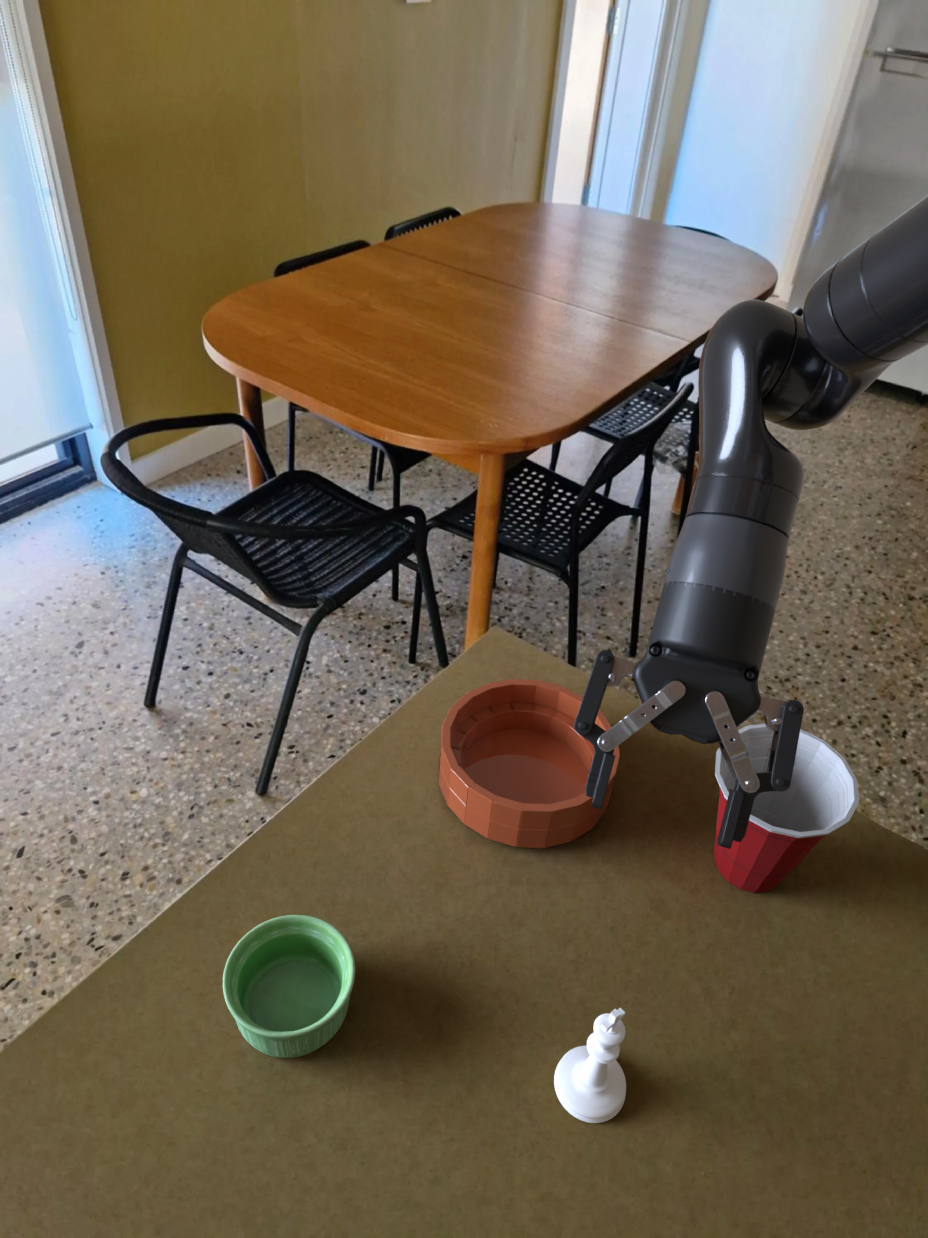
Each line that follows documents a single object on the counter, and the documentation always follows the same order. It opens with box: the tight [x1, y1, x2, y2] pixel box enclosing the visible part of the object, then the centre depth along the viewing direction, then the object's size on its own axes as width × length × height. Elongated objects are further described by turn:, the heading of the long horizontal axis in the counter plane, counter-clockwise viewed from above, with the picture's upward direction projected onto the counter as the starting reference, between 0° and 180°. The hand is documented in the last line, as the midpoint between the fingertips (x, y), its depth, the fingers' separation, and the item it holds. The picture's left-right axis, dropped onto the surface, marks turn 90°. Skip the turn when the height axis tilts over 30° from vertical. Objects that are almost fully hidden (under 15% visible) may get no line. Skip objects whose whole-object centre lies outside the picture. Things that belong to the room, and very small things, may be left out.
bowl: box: [438, 678, 621, 849], centre depth 80 cm, size 16×16×6 cm
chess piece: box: [553, 1007, 627, 1124], centre depth 58 cm, size 5×5×10 cm
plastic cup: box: [713, 723, 860, 894], centre depth 72 cm, size 11×11×12 cm
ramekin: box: [222, 914, 356, 1059], centre depth 62 cm, size 9×9×4 cm
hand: (659, 827), depth 59 cm, fingers open, 8 cm apart
